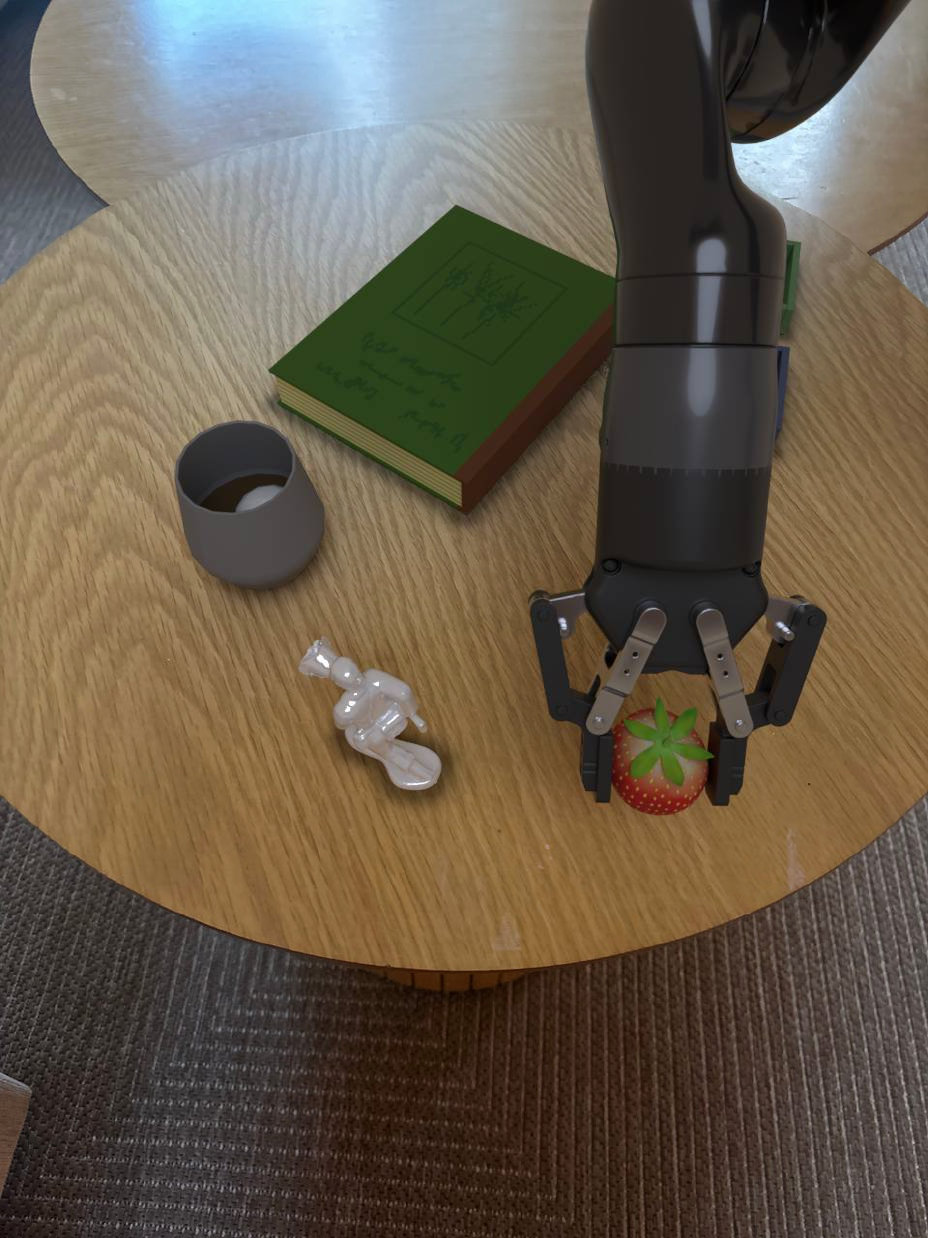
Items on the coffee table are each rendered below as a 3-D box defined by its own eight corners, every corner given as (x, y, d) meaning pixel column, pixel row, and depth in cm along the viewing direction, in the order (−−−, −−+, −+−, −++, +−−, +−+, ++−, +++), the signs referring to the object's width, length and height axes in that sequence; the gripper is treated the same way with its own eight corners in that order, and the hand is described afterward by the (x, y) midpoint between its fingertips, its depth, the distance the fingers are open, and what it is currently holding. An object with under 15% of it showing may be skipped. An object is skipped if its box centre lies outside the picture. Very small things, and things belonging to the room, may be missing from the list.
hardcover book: (467, 515, 65) (467, 483, 62) (277, 404, 71) (268, 369, 68) (639, 321, 75) (647, 285, 72) (461, 237, 81) (461, 199, 77)
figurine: (421, 810, 54) (410, 738, 44) (295, 745, 57) (256, 661, 46) (458, 745, 56) (455, 661, 46) (335, 685, 59) (305, 591, 48)
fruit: (575, 778, 49) (592, 723, 42) (643, 725, 51) (671, 663, 44) (641, 856, 47) (671, 810, 40) (711, 798, 48) (751, 745, 41)
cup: (262, 482, 67) (231, 387, 58) (358, 541, 64) (341, 450, 56) (173, 568, 63) (126, 481, 54) (272, 635, 60) (239, 553, 52)
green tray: (792, 266, 79) (801, 241, 76) (784, 334, 74) (794, 309, 72) (693, 250, 80) (700, 225, 77) (681, 316, 76) (687, 292, 73)
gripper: (528, 459, 36) (517, 832, 41) (882, 464, 36) (831, 839, 40) (521, 445, 43) (512, 763, 48) (816, 448, 43) (779, 768, 48)
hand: (658, 796), depth 44 cm, fingers closed on fruit, 5 cm apart
